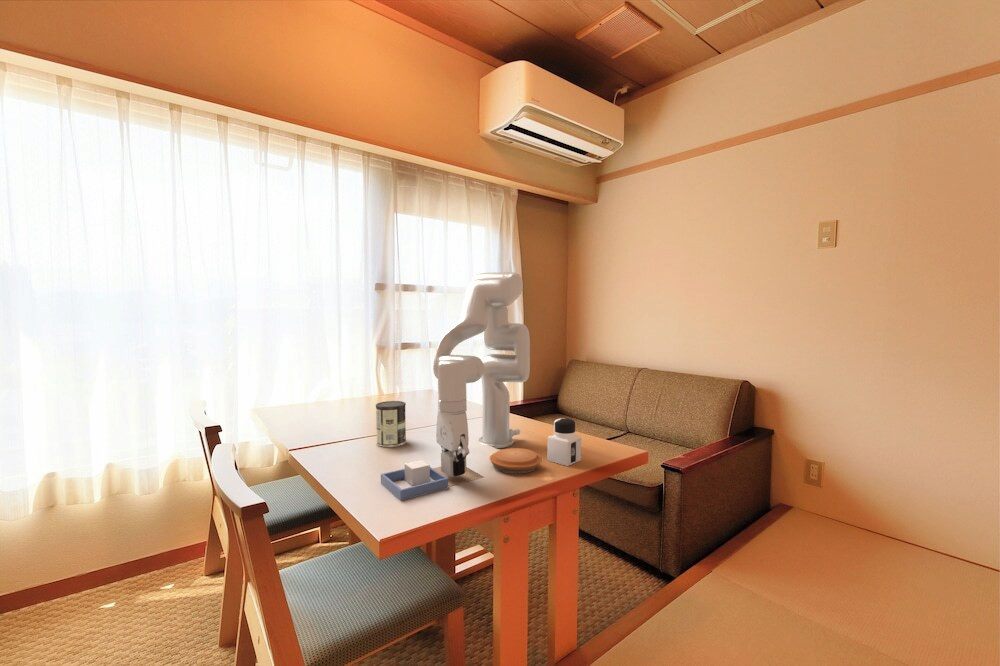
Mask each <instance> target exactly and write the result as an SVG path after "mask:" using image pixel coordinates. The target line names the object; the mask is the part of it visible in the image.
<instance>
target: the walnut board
mask: <svg viewBox="0 0 1000 666" xmlns="http://www.w3.org/2000/svg"><path fill="white" fill-rule="evenodd" d="M432 468H433V469H434V470H436V471H437V472H439V473H441V474H442V475H444V476H445V477H447V478H448V487H453V486H456V485H460V484H464V483H468V482H471V481H475V480H479V479H482V478H484V476H483V475H481V474H480V473H478V472H476V471H474V470H473V469H471V468H469V467H467V466H466V473H464V474H462V475H459V476H452V477H450V476H448V475H447V474H445V473H444V472H442V471H441V466H438V467H432Z"/></svg>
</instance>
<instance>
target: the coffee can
mask: <svg viewBox="0 0 1000 666" xmlns="http://www.w3.org/2000/svg"><path fill="white" fill-rule="evenodd" d="M406 405H407V404H406V402H405V401H399V400H388V401H387V400H386V401H380V402H378V403H375V411H376V412H375V414H376V415H375V418H376V419H375V420H376V421H375V422H376V425H375V426H376V428H375V430H376V446H378V447H380V446H382V447H381V448H396V447H401V446H403V445H405V444H406V442H407V437H406V436H407V435H406V433H407V431H406V427H407V426H406ZM400 445H401V446H400Z"/></svg>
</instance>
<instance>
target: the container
mask: <svg viewBox="0 0 1000 666" xmlns="http://www.w3.org/2000/svg"><path fill="white" fill-rule="evenodd" d="M546 455H547V461H548V462H550V463H554V462H555V463H554V464H557V463H558V465H561V466H564V465H565V467H569V465H570V466H572V465H573V464H576V463H578V462H581V461H582V436H581V435H578V434H577V435H576V421H575V420H574V419H572V418H567V417H563V418H562V417H560V418H557V419H555V420H554V421H553V434H551V435H549V436H547V454H546Z"/></svg>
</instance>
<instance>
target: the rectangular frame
mask: <svg viewBox="0 0 1000 666" xmlns="http://www.w3.org/2000/svg"><path fill="white" fill-rule="evenodd" d="M433 468H434V467H431V466H430V479H432V481H430V482H426V483H422V484H418V485H414V486H412V485H411V486H409V487H405V488H401V487H400V486H399V485H397V484H396V483H395V481H400V480H405V468H402V469H397V470H392V471H388V472H384V473H381V474H380V484H381V485H382V486H383V487H384V488H386V489H387V490H388V492H390V493H391V494H392V495H393V496H394V497H396V498H397V499H398V500H399V501H405V500H408V499H411V498H416V497H419V496H422V495H427V494H430V493H435V492H437V491H442V490H445V489H448V488H449V486H448V478H447V477H445V476H444V475H442V474H441V473H439V472H437V471H436V470H434V469H433Z"/></svg>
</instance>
